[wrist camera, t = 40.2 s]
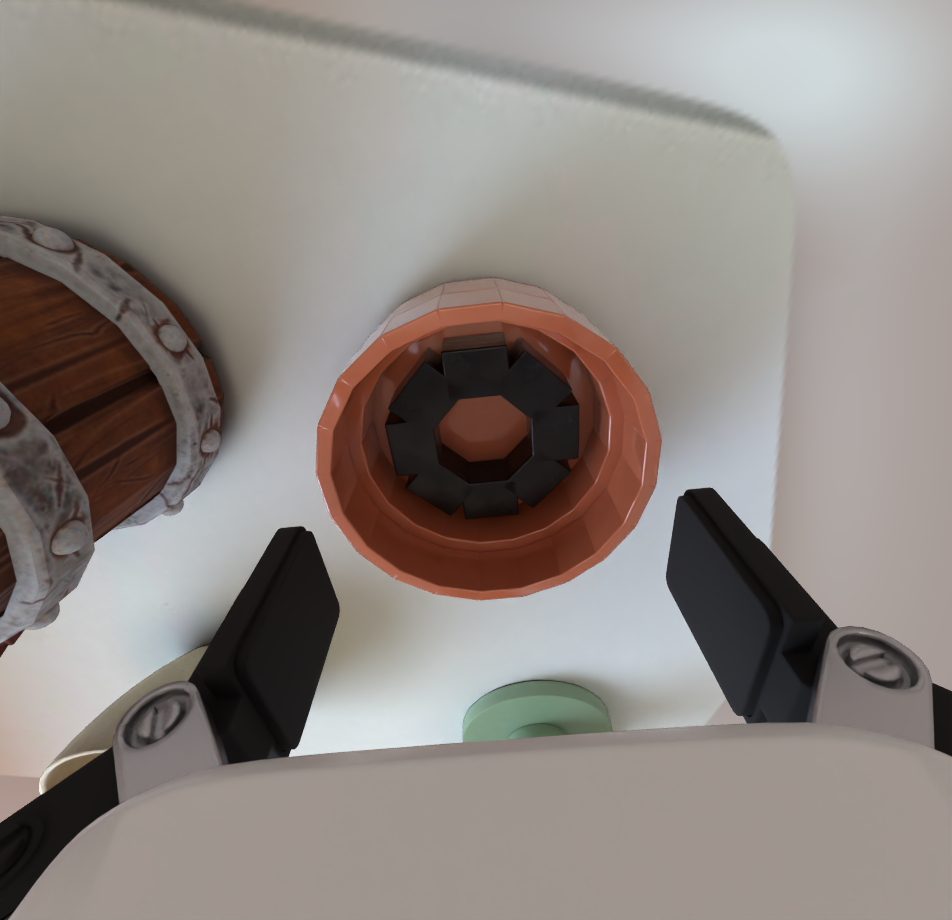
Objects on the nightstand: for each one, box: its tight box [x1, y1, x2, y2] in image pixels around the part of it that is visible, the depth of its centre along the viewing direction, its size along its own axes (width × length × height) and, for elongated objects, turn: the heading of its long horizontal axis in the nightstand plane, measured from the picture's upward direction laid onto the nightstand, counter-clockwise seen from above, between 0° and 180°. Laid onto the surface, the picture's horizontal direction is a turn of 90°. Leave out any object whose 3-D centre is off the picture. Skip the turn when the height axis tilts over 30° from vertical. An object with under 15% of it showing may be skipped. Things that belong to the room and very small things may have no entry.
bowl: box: [316, 278, 662, 600], centre depth 16 cm, size 11×11×5 cm
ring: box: [385, 332, 580, 520], centre depth 17 cm, size 7×7×2 cm
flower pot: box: [39, 645, 209, 795], centre depth 24 cm, size 10×10×7 cm
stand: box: [462, 681, 612, 743], centre depth 24 cm, size 10×10×14 cm
